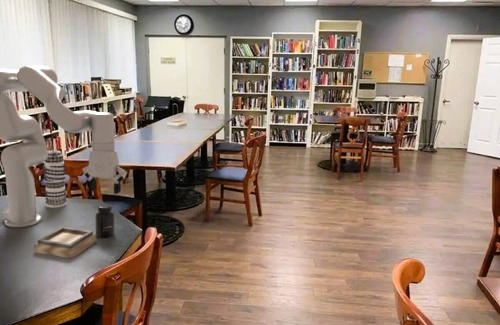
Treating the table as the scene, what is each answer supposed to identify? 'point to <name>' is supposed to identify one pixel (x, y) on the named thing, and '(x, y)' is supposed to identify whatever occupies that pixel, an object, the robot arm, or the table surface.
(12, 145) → the robot arm
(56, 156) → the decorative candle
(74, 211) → the table surface
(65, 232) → the wooden tray
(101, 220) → the supplement bottle
